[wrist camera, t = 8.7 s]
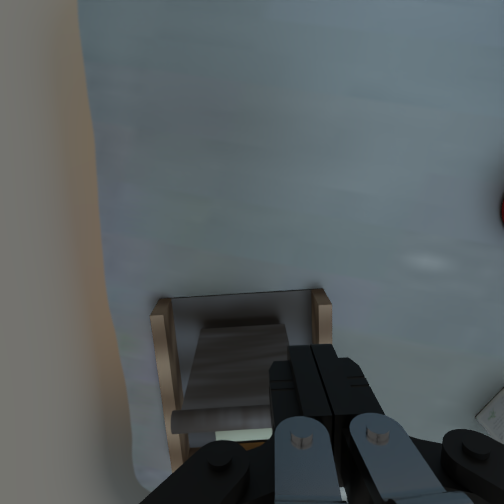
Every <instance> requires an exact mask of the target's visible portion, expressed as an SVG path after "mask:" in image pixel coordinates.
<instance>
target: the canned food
mask: <svg viewBox="0 0 504 504" xmlns="http://www.w3.org/2000/svg"><path fill="white" fill-rule="evenodd" d="M501 212H502V220H503V223H504V200H503V203H502V211H501Z"/></svg>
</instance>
